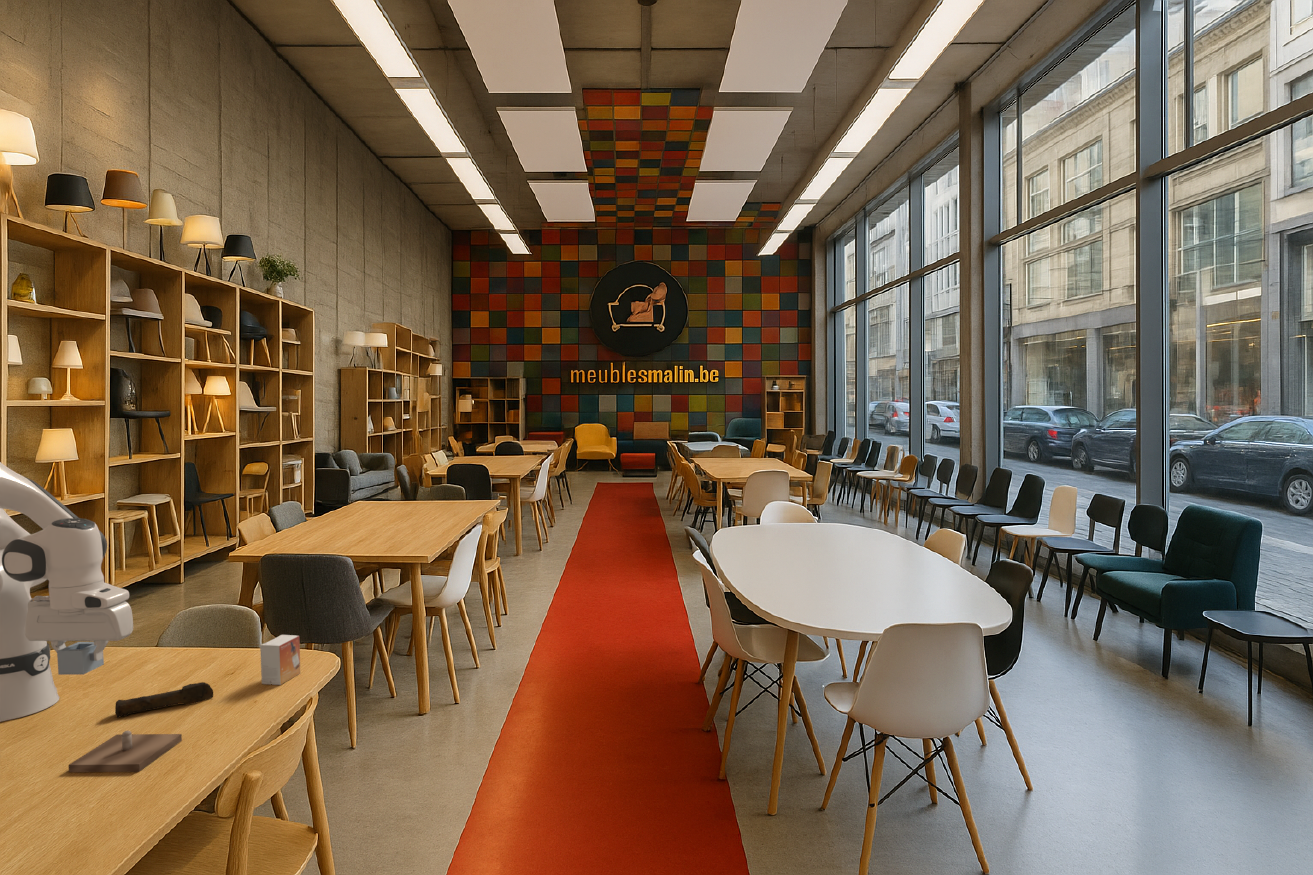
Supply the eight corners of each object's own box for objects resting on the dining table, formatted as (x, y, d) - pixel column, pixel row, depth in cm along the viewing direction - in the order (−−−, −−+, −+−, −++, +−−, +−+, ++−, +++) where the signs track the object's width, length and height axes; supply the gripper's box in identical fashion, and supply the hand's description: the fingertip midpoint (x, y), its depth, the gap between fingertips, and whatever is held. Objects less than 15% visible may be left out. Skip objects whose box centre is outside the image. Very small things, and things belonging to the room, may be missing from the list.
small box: (280, 685, 173) (278, 645, 172) (261, 684, 174) (259, 644, 173) (301, 673, 181) (300, 635, 180) (282, 671, 182) (281, 633, 181)
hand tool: (114, 721, 155) (112, 701, 155) (118, 713, 158) (117, 694, 158) (211, 703, 164) (210, 685, 163) (213, 697, 167) (213, 679, 167)
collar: (58, 674, 140) (57, 651, 139) (79, 664, 145) (78, 641, 144) (83, 674, 140) (82, 650, 139) (103, 664, 145) (102, 641, 144)
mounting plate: (68, 772, 133) (67, 746, 133) (117, 741, 145) (115, 717, 145) (139, 771, 133) (138, 745, 133) (181, 740, 145) (180, 716, 145)
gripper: (13, 600, 138) (17, 665, 139) (113, 600, 138) (116, 665, 139) (41, 591, 144) (45, 654, 145) (137, 591, 144) (139, 653, 145)
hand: (81, 659), depth 142 cm, fingers closed on collar, 5 cm apart
